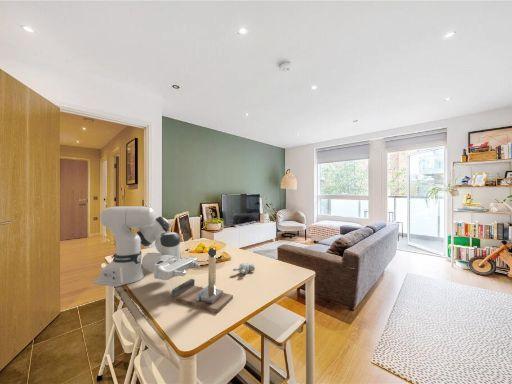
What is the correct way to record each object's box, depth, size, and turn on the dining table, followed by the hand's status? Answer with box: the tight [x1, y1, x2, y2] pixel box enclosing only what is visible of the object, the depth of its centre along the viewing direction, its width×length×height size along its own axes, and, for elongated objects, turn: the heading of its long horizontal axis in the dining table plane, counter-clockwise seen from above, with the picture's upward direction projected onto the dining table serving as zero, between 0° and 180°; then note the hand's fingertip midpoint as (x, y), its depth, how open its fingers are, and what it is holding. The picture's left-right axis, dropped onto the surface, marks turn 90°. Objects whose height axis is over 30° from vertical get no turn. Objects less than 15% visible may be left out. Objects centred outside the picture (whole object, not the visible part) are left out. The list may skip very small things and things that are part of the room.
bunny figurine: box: [232, 262, 256, 275], centre depth 119 cm, size 10×5×15 cm
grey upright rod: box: [196, 247, 224, 304], centre depth 87 cm, size 7×10×21 cm
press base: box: [170, 278, 234, 314], centre depth 89 cm, size 24×12×4 cm, turn 67°
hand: (192, 269), depth 91 cm, fingers open, 8 cm apart
